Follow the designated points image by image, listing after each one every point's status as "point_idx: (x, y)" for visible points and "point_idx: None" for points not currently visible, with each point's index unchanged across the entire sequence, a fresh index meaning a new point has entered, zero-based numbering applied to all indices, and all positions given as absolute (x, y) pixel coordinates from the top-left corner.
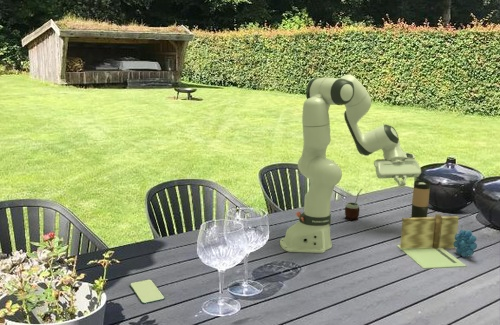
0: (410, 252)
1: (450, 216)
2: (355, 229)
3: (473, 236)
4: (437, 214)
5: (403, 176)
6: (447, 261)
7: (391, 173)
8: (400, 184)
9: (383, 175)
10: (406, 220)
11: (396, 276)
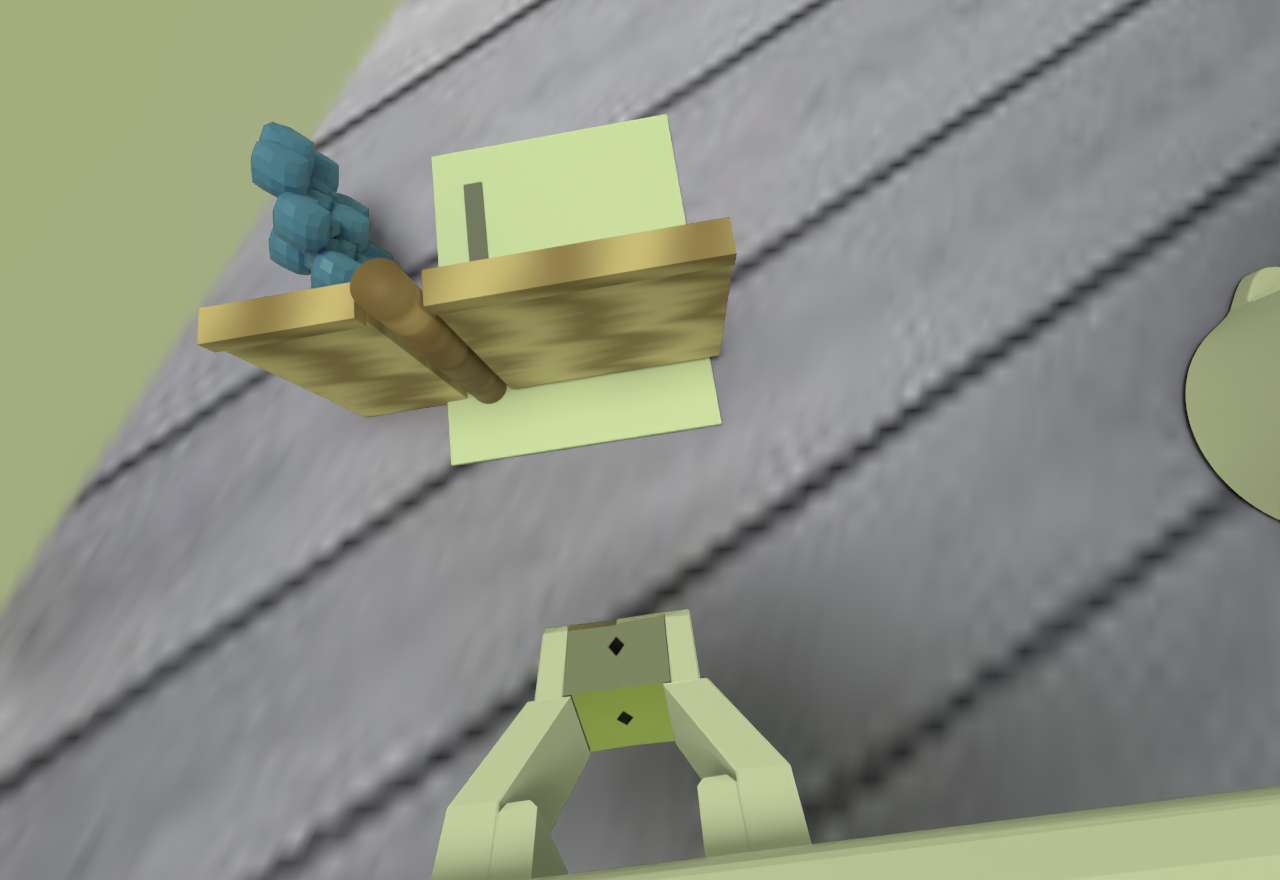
0: None
1: (258, 332)
2: (978, 773)
3: (276, 125)
4: (372, 307)
5: (535, 824)
6: (505, 197)
7: (999, 863)
8: (674, 611)
9: (1269, 799)
10: (705, 228)
11: (831, 28)
